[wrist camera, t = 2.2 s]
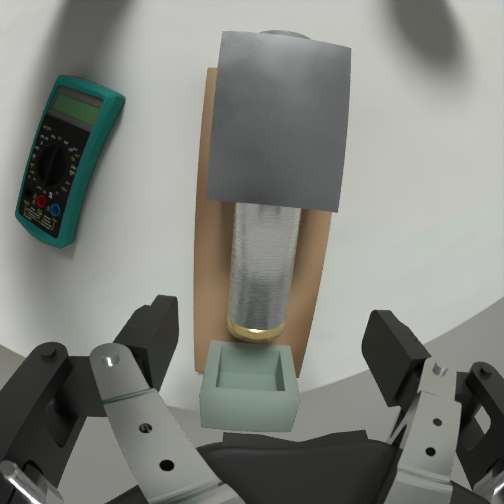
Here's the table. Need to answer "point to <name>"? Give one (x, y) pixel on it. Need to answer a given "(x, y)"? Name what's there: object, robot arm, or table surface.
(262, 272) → the tube
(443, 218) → the table surface
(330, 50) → the sleeve
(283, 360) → the socket
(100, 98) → the digital multimeter
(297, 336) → the board
